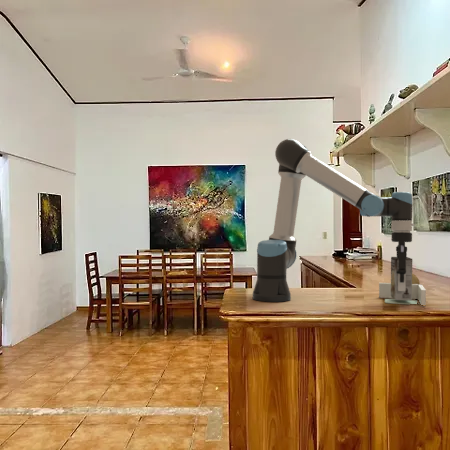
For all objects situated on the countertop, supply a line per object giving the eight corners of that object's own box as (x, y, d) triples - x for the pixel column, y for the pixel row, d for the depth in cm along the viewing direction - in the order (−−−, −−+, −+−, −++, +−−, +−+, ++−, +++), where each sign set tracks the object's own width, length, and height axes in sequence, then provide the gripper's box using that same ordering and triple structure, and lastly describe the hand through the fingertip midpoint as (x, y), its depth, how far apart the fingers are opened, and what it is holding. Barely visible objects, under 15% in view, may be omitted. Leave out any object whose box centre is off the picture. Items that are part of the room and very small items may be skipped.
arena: (378, 303, 184) (378, 288, 184) (378, 297, 201) (379, 282, 201) (425, 306, 178) (425, 290, 178) (421, 299, 196) (421, 284, 196)
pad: (385, 303, 185) (385, 302, 185) (384, 299, 194) (384, 298, 194) (418, 304, 182) (418, 304, 182) (416, 301, 190) (416, 300, 190)
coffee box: (389, 296, 193) (390, 256, 193) (406, 297, 192) (407, 256, 192) (395, 300, 184) (395, 258, 184) (412, 300, 183) (413, 258, 183)
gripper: (413, 232, 176) (413, 293, 176) (410, 231, 197) (409, 286, 197) (392, 232, 178) (391, 292, 178) (390, 231, 199) (390, 285, 199)
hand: (401, 289), depth 188 cm, fingers closed on coffee box, 10 cm apart
